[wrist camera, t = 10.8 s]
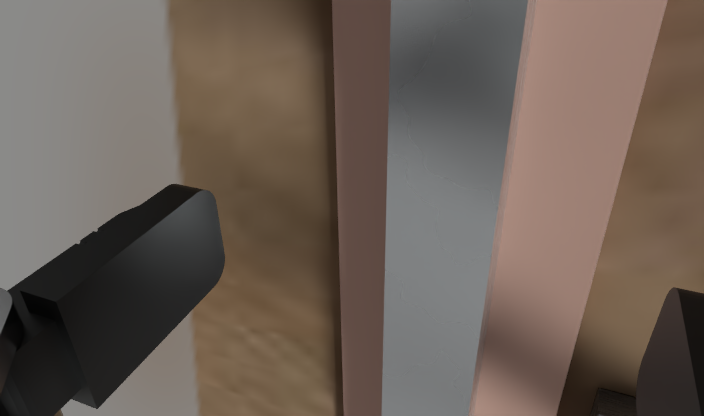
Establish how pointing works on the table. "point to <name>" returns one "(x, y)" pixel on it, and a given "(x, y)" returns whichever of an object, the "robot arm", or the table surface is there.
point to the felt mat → (522, 200)
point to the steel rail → (447, 192)
